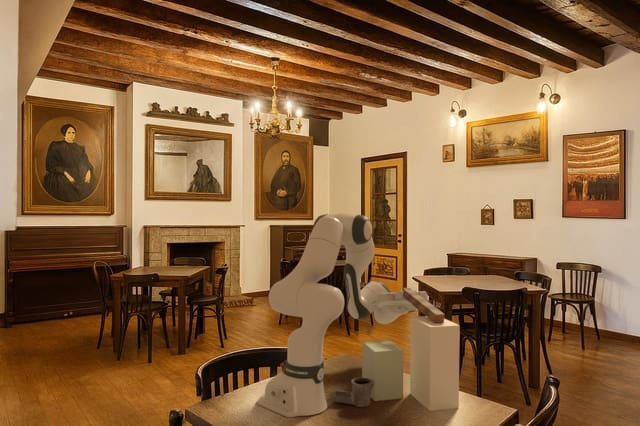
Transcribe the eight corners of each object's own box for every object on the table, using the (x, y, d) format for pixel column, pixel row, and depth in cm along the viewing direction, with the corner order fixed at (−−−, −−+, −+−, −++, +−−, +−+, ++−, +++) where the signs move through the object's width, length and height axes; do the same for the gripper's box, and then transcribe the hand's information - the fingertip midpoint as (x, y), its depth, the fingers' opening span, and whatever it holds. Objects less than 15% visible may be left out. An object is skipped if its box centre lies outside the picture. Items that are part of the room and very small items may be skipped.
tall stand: (410, 393, 156) (410, 316, 156) (436, 391, 159) (437, 315, 158) (429, 411, 142) (430, 327, 142) (458, 408, 145) (459, 325, 145)
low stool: (362, 387, 161) (362, 341, 161) (388, 385, 164) (389, 340, 164) (374, 401, 150) (374, 351, 150) (402, 398, 152) (403, 349, 152)
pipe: (335, 399, 150) (335, 375, 150) (374, 402, 148) (374, 378, 148) (332, 407, 144) (332, 382, 144) (373, 410, 142) (373, 385, 142)
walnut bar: (401, 295, 172) (402, 288, 171) (409, 295, 173) (409, 287, 172) (435, 323, 147) (436, 314, 146) (443, 323, 148) (444, 314, 147)
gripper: (369, 297, 180) (380, 284, 168) (417, 295, 185) (431, 283, 173) (371, 313, 177) (383, 301, 165) (420, 310, 182) (435, 299, 170)
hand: (408, 292), depth 169 cm, fingers closed on walnut bar, 3 cm apart
